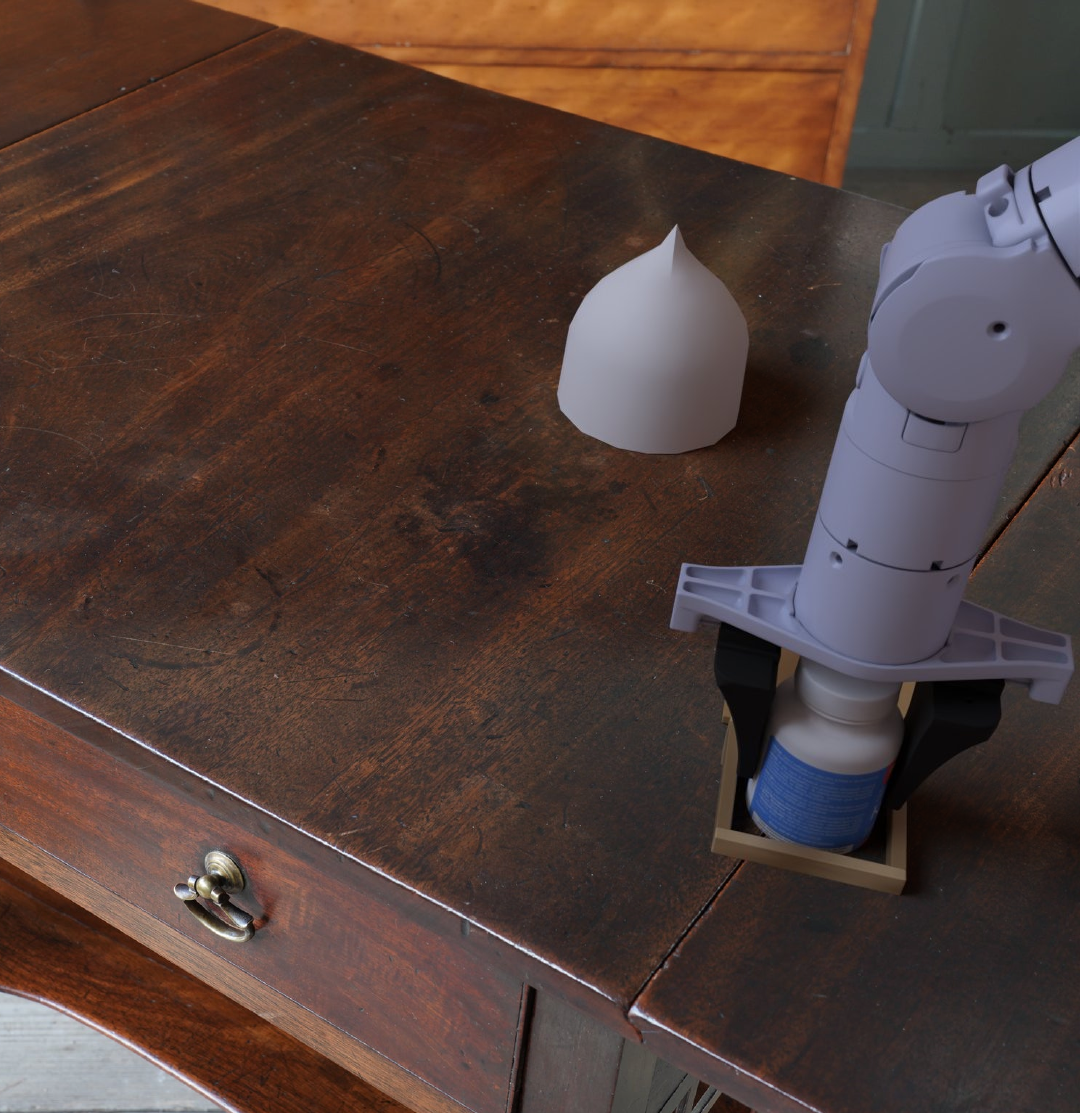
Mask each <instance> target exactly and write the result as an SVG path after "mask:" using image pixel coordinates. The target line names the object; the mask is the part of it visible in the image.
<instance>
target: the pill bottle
mask: <svg viewBox="0 0 1080 1113" xmlns="http://www.w3.org/2000/svg"><path fill="white" fill-rule="evenodd" d="M902 685H903V682H875V681H868V680H863V679H858V678H855V677H851V676H848V675H845V674H842V673H840V672H837V671H835V670H832V669H830V668H828V667H826V666H823V665H821V664H819V663H817V662H814V661H812V660H810V659H807V658H805V657H803V656H801V655H800V657H799V660H798V664H797V667H796V669H795V673H794V674H793V675H791V676H789V677H787V678H786V679H785V680H783V681H782V682H781V683H780V684H779V685H778V686H777V688H776V694H775V696H774V699H773V701H772V704H771V707H770V709H769V712H768V715H767V718H766V721H765V724H764V727H763V731H762V735H761V740H760V747H759V754H758V761H757V768H756V771H755V774H754V777H753V779H750V778H748V781H747V784H746V788H745V794H744V795H745V796H744V797H745V805H746V809H747V811H748V813H749V816H750V818H751V819H752V821H753V823H754V824H755V825H756V826H757V827H758V829H760V831H761V832H762V833H764V834H765V835H766V836H767V838H769V839H773V840H777V841H782V842H786V843H791V844H795V845H799V846H804V847H808V848H813V849H817V850H822V851H826V852H830V853H835V854H839V855H845V854H848V853H851V852H853V851H855V850H857V849H858V848H860V847H861V846H863V845H864V844H865V843H866V841H867V840H869V838H870V836H871V834H872V832H873V829H874V826H875V822H876V819H877V817H878V814H879V812H880V809H881V806H882V804H883V798H884V794H885V791H886V789H887V786H888V783H889V780H890V777H891V774H892V772H893V769H894V766H895V763H896V761H897V758H898V755H899V752H900V749H901V746H902V743H903V739H904V733H905V725H904V719H903V716H902V713H901V711H900V709H899V707H898V705H897V704H898V701H899V695H900V691H901V688H902Z"/></svg>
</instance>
